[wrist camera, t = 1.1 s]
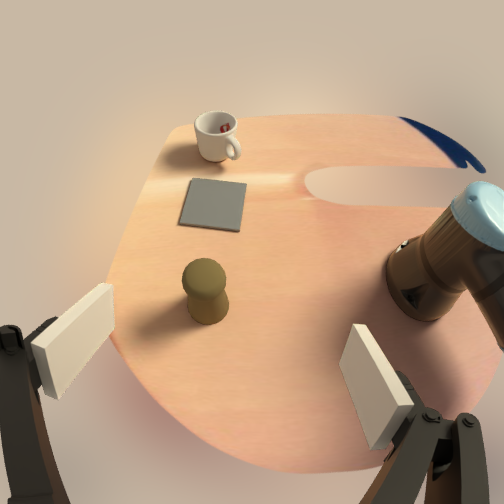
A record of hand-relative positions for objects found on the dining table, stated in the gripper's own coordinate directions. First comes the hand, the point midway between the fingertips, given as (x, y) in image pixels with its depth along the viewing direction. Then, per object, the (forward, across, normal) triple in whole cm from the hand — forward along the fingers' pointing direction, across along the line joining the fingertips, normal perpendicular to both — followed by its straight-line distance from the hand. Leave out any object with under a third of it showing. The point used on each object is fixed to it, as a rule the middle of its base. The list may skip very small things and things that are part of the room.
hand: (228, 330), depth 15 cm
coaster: (+38, -6, +1) cm, 39 cm away
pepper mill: (+26, -4, -12) cm, 29 cm away
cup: (+47, -7, +10) cm, 48 cm away
